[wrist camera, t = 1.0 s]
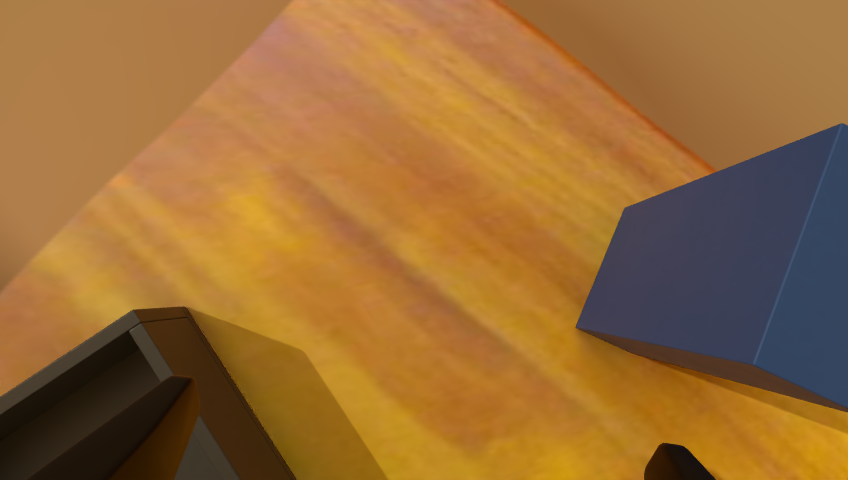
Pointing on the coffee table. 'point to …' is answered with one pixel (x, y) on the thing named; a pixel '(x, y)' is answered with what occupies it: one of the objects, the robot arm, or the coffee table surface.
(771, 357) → the blue block
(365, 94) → the coffee table surface
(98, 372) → the dark open-top box
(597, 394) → the coffee table surface
